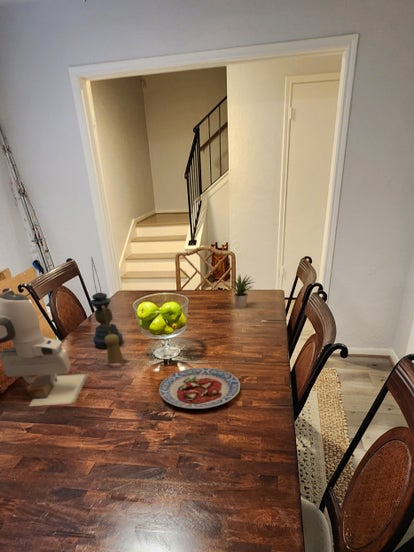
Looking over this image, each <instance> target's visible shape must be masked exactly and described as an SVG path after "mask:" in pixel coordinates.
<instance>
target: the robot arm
mask: <svg viewBox="0 0 414 552" xmlns="http://www.w3.org/2000/svg"><path fill="white" fill-rule="evenodd" d="M43 333H44V332H42V330H41V327H40V319H39V317H38V313H37V310H36V308H35V306H34V304H33V302H32V300H31V298H30V297H28V296H26V295H24V294H22V293H8V294H7V293H6V294H3V295H1V296H0V345H1V344H4V343H6V342H9V341H11V342H12V344H13V347H10V348H7V347H6V348H2V349H1V350H0V361H1V363H2V368H3V372H4V375H5V376H7V378H17V377H18V378H19V377H22V378H23V380H25V382H27V383H28V384H29V387H30V386H31V384H32V383H33V382H34V380H35V379H32V378H31V377H33V376H38V375H50V377H52V379H50V381H49V384H50V386H55V385H56V382H55V378H56V375H66V374H68V373H69V372H70V370H71V369H72V363H71V360H70V357H69V356H68V352H67V351H66V350H65V349H64V348H62V347H63V343H62V341H61V340H60V339H55V338H51V337H46V336H44V334H43Z"/></svg>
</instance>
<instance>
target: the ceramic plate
mask: <svg viewBox="0 0 414 552" xmlns="http://www.w3.org/2000/svg"><path fill="white" fill-rule="evenodd" d="M240 389H241V382H240V381H239V379H238V377H236V376H235V375H233V373H230V372H228V371H226V370H223V369H220V368H214V367H193V368H188V369H184V370H180V371H177V372H175V373H173V374H170V375H169V376H167V377H166V378H165V379H163V380H162V382H161V383H160V384H159V387H158V392H159V395H160V397H161V399H163V400H164V401H165V402H166V403H168V404H170V405H172V406H175V407H178V408H183V409H191V410H197V409H209V408H214V407H215V408H216V407H217V406H221V405H224V404H226V403H228V402H230V401H232V400H233V399H234V398H235V397H236V396H237V395H239V392H240Z"/></svg>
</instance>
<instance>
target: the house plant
mask: <svg viewBox="0 0 414 552" xmlns="http://www.w3.org/2000/svg"><path fill="white" fill-rule="evenodd" d="M247 276H248V274H246V275H245V276H244V278H243V279H242V277H241V274H238V276H237V278H236V279H235V278H232V277H231V279H232V282H233V283H234V285H235V286H234V285H230V286H229V288H232V289H233V297H234V302H235V303H234V304H235V307H236V308H238V309H244V308H246V307H247V302H248V296H249V295H248V294H249V293H247V292H250V289H252V288H253V285H251V284H255V283H256V281H254V278H251V277H252V276H251V275H250V276H248V277H247ZM250 278H251V279H250ZM236 280H237V281H236Z"/></svg>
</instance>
